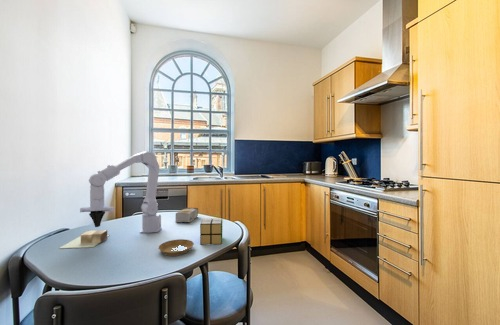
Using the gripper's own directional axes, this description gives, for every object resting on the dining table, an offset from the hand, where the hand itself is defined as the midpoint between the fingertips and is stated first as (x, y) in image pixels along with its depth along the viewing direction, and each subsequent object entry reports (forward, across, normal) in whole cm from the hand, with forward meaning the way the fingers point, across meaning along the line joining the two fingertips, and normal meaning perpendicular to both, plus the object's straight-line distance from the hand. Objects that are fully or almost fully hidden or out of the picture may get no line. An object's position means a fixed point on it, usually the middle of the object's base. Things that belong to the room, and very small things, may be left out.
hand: (97, 226), depth 112 cm
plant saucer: (+8, +40, -16) cm, 44 cm away
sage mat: (+7, -5, 0) cm, 9 cm away
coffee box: (+4, +36, +27) cm, 45 cm away
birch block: (+5, +3, 0) cm, 6 cm away
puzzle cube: (+8, +55, -6) cm, 56 cm away
